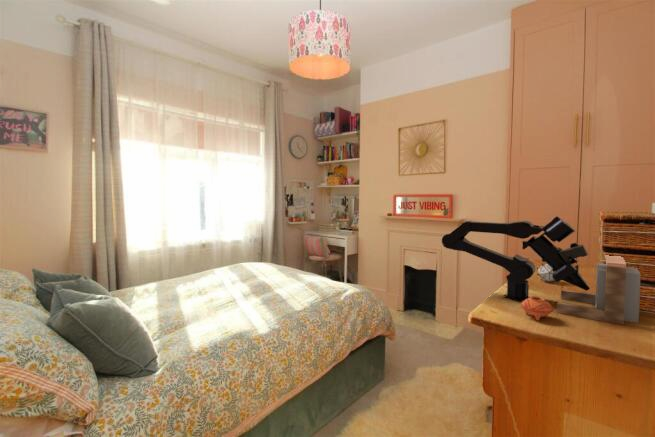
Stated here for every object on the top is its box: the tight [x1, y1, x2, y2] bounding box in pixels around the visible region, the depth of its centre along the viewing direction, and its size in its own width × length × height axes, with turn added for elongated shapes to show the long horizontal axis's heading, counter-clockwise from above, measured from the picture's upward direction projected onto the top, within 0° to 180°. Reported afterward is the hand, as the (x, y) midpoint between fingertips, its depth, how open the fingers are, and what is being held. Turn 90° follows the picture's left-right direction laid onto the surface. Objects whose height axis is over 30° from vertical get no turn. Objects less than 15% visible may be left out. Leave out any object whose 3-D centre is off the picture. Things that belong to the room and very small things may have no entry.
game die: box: [536, 262, 557, 284], centre depth 131 cm, size 9×8×10 cm
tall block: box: [594, 263, 642, 324], centre depth 95 cm, size 9×11×14 cm
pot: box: [520, 295, 554, 321], centre depth 94 cm, size 8×8×7 cm
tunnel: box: [556, 254, 627, 325], centre depth 99 cm, size 15×18×17 cm
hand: (588, 289), depth 99 cm, fingers closed
